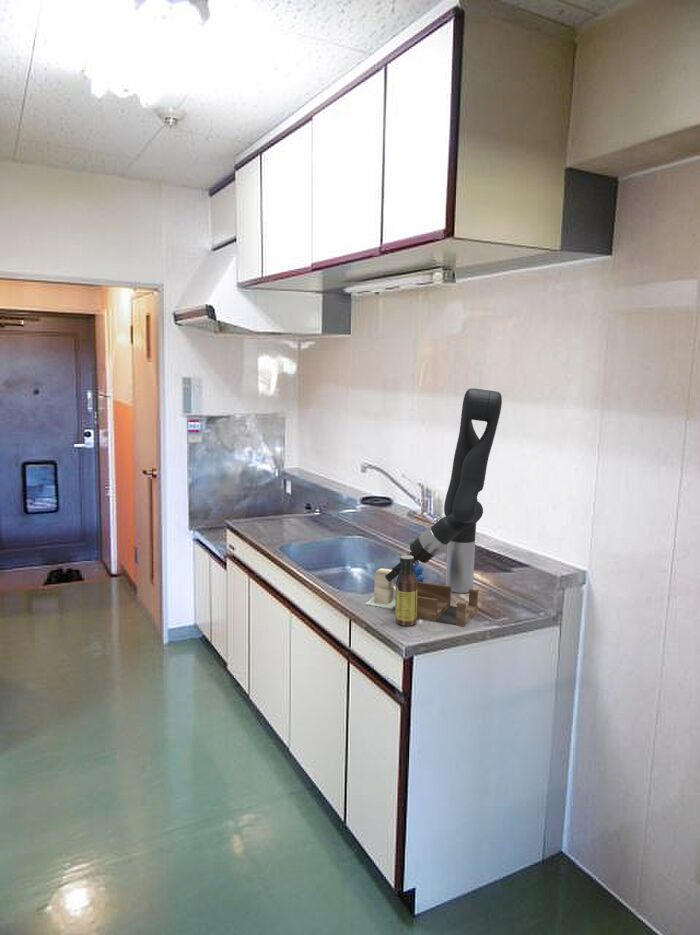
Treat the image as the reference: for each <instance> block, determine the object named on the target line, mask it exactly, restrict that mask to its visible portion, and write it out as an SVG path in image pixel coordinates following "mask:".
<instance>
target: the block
mask: <svg viewBox="0 0 700 935" xmlns="http://www.w3.org/2000/svg"><path fill="white" fill-rule="evenodd" d="M391 571H392V569H391V568H382V567H381V568H378V569H377V570H376V571H374V590H373V591H374V592H373V595H374V596H373V597H374V603H378V604H384V605H388V604H389V603H391V602H392V601H393V599H394V589H395V588H394V587H395V586H394V585H395V584H394V583H395V582H394V581H395V578H394V579H393V580H391V581H390V582H389V581H388V580H387V579H386V578H385V576H386V575H387V574H388V573H390V572H391Z"/></svg>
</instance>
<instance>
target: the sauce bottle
mask: <svg viewBox="0 0 700 935" xmlns="http://www.w3.org/2000/svg"><path fill="white" fill-rule="evenodd" d="M399 561H400V563H401V564H400V573H399V575H397V579H396V582H395V599H396V606H395V607H394V608H395V612H394V613H395V614H394V616H395V623H396V624H398V625H400V626H404V627H405V626H406V627H408V626H413V625H415V624H416V623H417V579H416V576H415V575H414V573H413V571H414V570H413V563H414V557H413V556H411V555H407V554H405V555H401V556H399Z"/></svg>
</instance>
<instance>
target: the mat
mask: <svg viewBox="0 0 700 935" xmlns="http://www.w3.org/2000/svg"><path fill="white" fill-rule="evenodd" d="M364 605H365V606H369V605H371V606H370V607H375V606H377V607H376V608H381V607H382V608H383V609H387V610H393V609H394V608H395V606H396V598H393V601H392V602H391V603H389V604H388V605H384V604H378V603H374V596H373V597H372V598H370V599H369V600H368V601H366V602H365V603H364Z"/></svg>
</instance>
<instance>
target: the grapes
mask: <svg viewBox="0 0 700 935" xmlns="http://www.w3.org/2000/svg"><path fill="white" fill-rule="evenodd" d="M413 570H414V571H413V573H414V575H415V576H416V579H417V582H425V576H424V574H423V572H424V568H423V566H422V565H420V561H419V562H418V563H417V564H415V565H414V566H413Z"/></svg>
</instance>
